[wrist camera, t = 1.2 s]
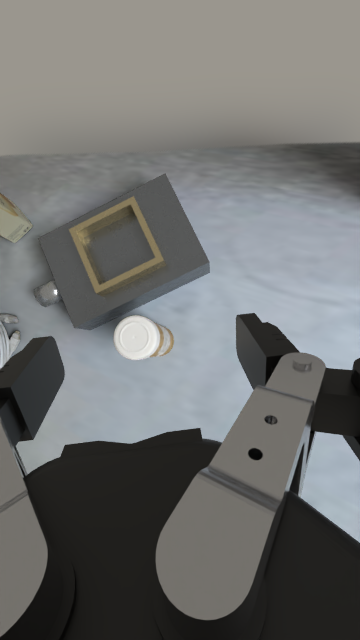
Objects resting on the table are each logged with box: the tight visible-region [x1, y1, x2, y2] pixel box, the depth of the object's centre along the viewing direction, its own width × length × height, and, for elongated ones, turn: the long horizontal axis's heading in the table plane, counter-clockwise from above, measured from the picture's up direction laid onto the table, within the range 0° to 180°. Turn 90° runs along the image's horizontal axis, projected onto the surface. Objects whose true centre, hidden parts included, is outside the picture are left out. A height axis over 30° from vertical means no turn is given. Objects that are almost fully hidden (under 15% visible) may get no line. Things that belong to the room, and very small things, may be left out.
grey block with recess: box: [34, 174, 210, 330], centre depth 39 cm, size 24×14×7 cm, turn 115°
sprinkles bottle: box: [114, 315, 174, 360], centre depth 34 cm, size 5×5×13 cm
